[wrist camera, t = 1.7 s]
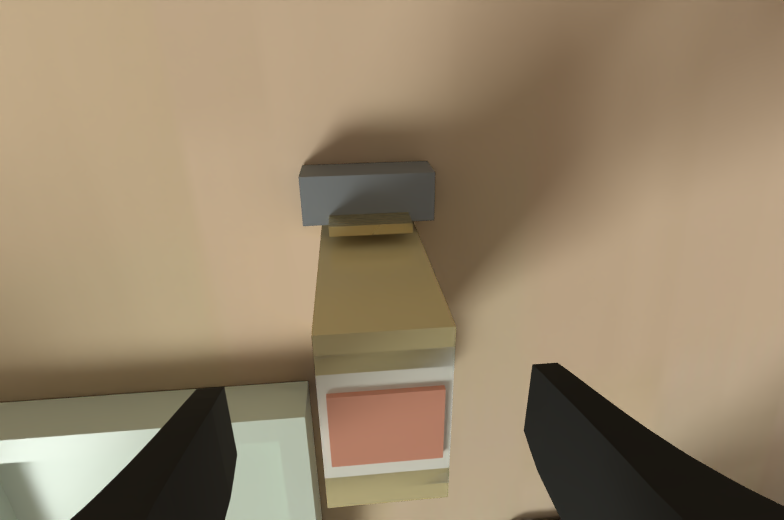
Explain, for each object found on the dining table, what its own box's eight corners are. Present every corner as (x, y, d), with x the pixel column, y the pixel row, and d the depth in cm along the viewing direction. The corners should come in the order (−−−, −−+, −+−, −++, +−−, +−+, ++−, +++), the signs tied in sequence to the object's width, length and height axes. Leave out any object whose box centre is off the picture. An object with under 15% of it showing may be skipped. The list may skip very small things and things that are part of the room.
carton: (411, 217, 17) (457, 330, 10) (410, 341, 19) (448, 502, 12) (322, 220, 16) (310, 340, 10) (331, 346, 18) (327, 513, 12)
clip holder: (426, 160, 16) (441, 181, 14) (423, 381, 19) (434, 425, 17) (302, 165, 15) (295, 186, 13) (321, 388, 19) (319, 434, 17)
